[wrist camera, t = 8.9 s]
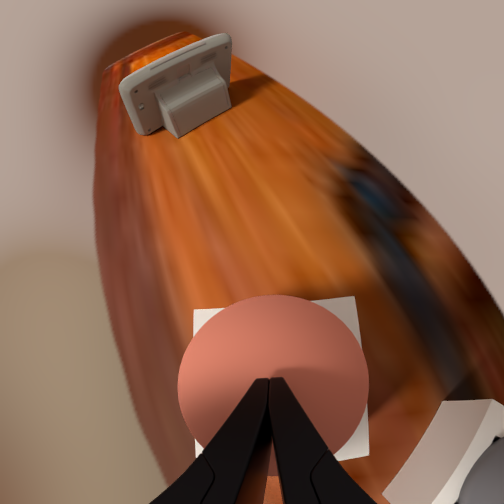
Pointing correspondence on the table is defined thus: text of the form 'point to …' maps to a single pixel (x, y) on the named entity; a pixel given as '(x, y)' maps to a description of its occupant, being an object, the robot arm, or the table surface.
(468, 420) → the socket
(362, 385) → the red plug
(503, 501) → the plug
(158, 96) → the digital clock
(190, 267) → the table surface
